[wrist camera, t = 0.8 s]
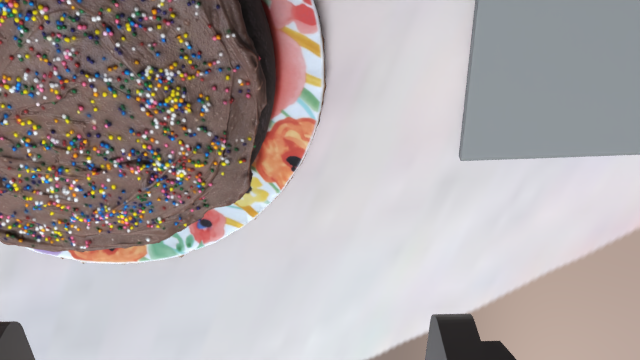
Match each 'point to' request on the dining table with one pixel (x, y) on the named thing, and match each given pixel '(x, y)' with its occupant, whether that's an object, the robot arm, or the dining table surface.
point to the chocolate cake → (150, 120)
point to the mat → (552, 80)
